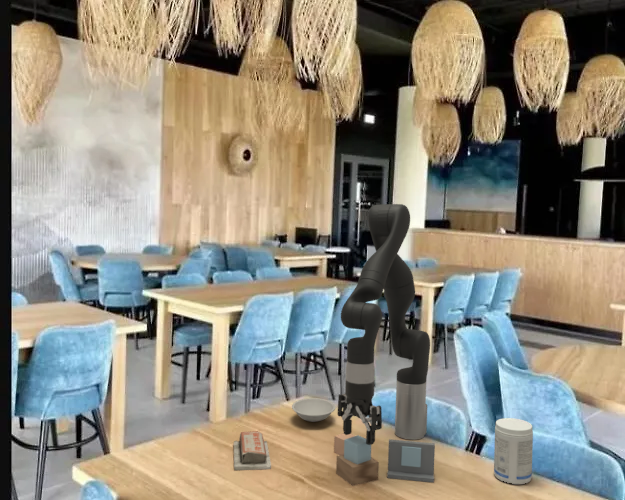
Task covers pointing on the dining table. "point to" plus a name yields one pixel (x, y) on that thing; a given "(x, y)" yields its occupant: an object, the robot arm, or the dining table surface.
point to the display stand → (411, 460)
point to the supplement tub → (513, 450)
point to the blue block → (357, 450)
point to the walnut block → (357, 470)
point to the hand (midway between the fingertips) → (358, 438)
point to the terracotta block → (340, 443)
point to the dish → (313, 409)
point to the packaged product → (251, 452)
